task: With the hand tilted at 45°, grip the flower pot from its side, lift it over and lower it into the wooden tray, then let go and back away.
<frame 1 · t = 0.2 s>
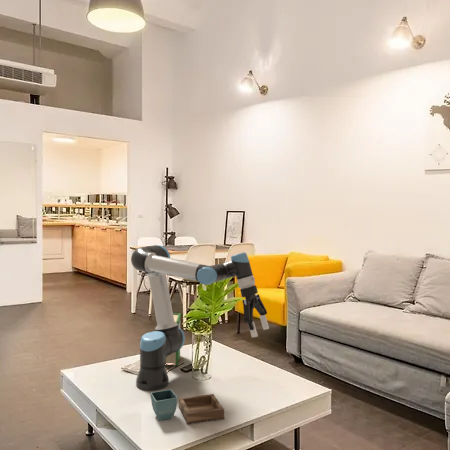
hand: (260, 333, 199), 28 cm above the table, tool tilted 20°, fingers open, 13 cm apart
hardback book: (172, 361, 241), on the table
wooden tray: (200, 413, 181), on the table
flower pot: (163, 417, 177), on the table
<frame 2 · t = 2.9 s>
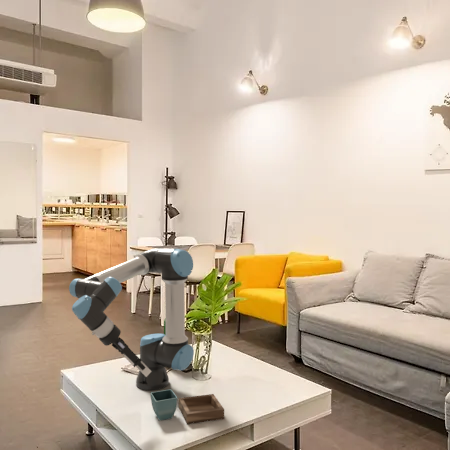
hand: (142, 368, 171), 21 cm above the table, tool tilted 40°, fingers open, 13 cm apart
nothing on the table moved.
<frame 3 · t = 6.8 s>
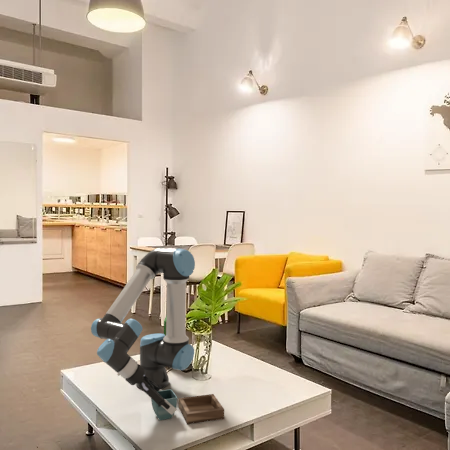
hand: (171, 406, 178), 4 cm above the table, tool tilted 45°, fingers closed on flower pot, 9 cm apart
flower pot: (163, 417, 177), on the table, touching gripper
everything else where it was.
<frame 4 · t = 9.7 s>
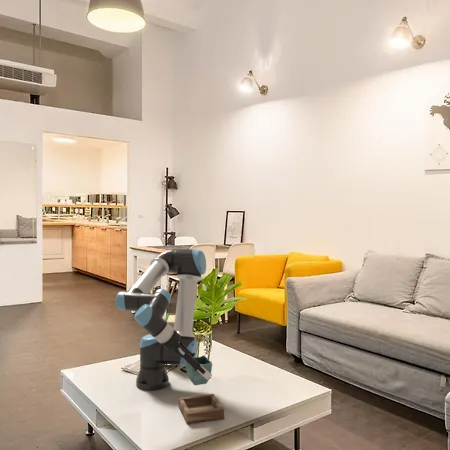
hand: (206, 372, 180), 17 cm above the table, tool tilted 45°, fingers closed on flower pot, 9 cm apart
flower pot: (198, 383, 179), point 13 cm above the table, touching gripper
everything else where it was.
when the fingers open (6 cm above the table, at t = 12.8 s): flower pot drops 1 cm, resting on wooden tray.
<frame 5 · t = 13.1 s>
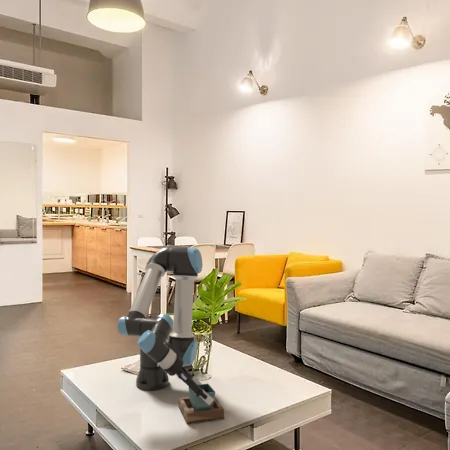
hand: (206, 395, 181), 7 cm above the table, tool tilted 45°, fingers open, 12 cm apart
flower pot: (200, 410, 181), point 1 cm above the table, touching wooden tray
everything else where it was.
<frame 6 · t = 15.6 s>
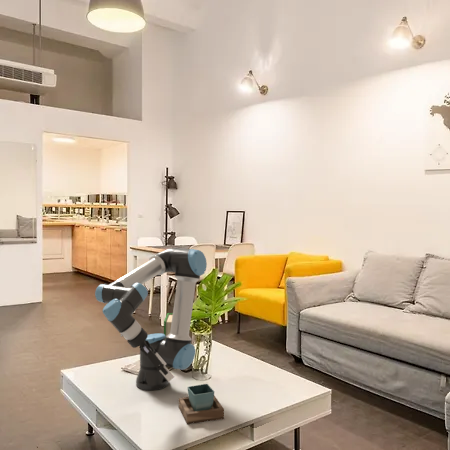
hand: (167, 372, 177), 18 cm above the table, tool tilted 40°, fingers open, 13 cm apart
nothing on the table moved.
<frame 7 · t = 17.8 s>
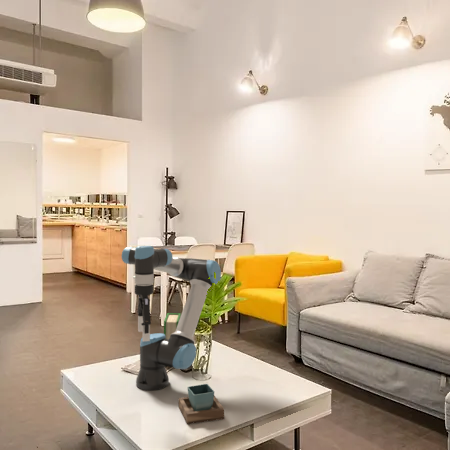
hand: (143, 336, 181), 31 cm above the table, tool pointing down, fingers open, 13 cm apart
nothing on the table moved.
at the end: flower pot inside the target area on the wooden tray (0.1 cm from its centre), point 0.8 cm above the wooden tray's base; flower pot tilted 0°; the gripper is holding nothing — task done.
